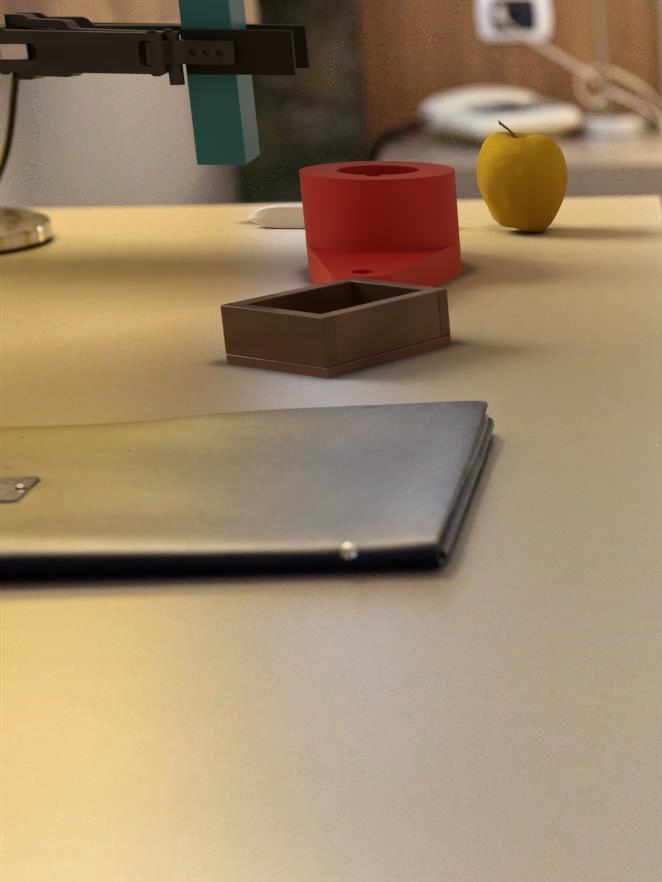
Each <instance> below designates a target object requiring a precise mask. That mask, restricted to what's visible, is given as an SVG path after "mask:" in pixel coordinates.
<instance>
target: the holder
mask: <svg viewBox="0 0 662 882" xmlns="http://www.w3.org/2000/svg"><path fill="white" fill-rule="evenodd" d="M220 315H221V324H222V331H223V341H224V348H225V355H226V356H225V357H226V364H227V365H230V366H235V367H236V366H237V367H242V368H243V367H244V368H250V369H258V370H265V371H271V372H279V373H285V374H293V375H300V376H306V377H313V378H321V379H326V380H327V379H329V380H330V379H333V378H337V377H339V376H344V375H347V374H351V373H354V372H357V371H358V372H359V371H362V370H366V369H369V368H373V367H375V366H380V365H383V364H387V363H390V362H394V361H397V360H401V359H405V358H409V357H412V356H416V355H420V354H423V353H427V352H430V351H433V350H438V349H442V348H444V347H448V346H451V345H452V336H451V335H452V334H451V323H450V321H451V320H450V309H449V296H448V289H447V288H444V287H436V286H434V287H429V286H420V285H412V284H403V283H395V282H387V281H378V280H370V279H361V278H353V277H349V278H344V279H339V280H335V281H330V282H325V283H321V284H316V283H315V284H311V285H308V286H303V287H298V288H293V289H289V290H285V291H280V292H275V293H271V294H266V295H261V296H260V295H259V296H257V297H251V298H247V299H241V300H238V301H232V302H229V303H224V304H220Z"/></svg>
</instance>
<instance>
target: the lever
mask: <svg viewBox="0 0 662 882" xmlns="http://www.w3.org/2000/svg"><path fill="white" fill-rule="evenodd" d="M298 175H299V184H300V195H301V204H302V206H303V216H304V226H305V228H304V233H305V234H304V235H305V245H306V254H307V255H306V256H307V265H308V266H307V267H308V275H309V280H310V281H311V283H312V285H316V284H321V283H325V282H330V281H335V280H339V279H344V278H349V277H353V278H361V279H370V280H378V281H387V282H395V283H403V284H412V285H420V286H429V287H436V286H438V285H440V284H442V283H444V282H446V281H448V280H450V279H452V278H454V277H457V276H458V275H460V274H461V273H462V271H463V268H462V267H463V266H462V253H461V251H462V250H461V237H460V225H459V210H458V197H457V183H456V182H457V181H456V169H455V168H454V167H452V166H450V165H446V164H439V163H434V162H433V163H432V162H422V161H406V160H361V161H360V160H358V161H339V162H338V161H337V162H328V163H320V164H314V165H308V166H305V167H302V168H300V169H299V170H298Z"/></svg>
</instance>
